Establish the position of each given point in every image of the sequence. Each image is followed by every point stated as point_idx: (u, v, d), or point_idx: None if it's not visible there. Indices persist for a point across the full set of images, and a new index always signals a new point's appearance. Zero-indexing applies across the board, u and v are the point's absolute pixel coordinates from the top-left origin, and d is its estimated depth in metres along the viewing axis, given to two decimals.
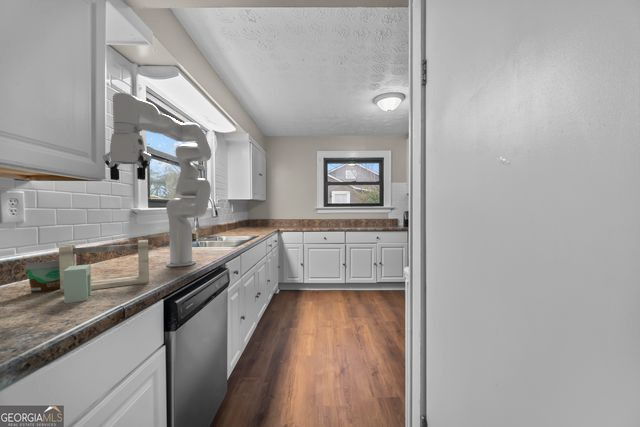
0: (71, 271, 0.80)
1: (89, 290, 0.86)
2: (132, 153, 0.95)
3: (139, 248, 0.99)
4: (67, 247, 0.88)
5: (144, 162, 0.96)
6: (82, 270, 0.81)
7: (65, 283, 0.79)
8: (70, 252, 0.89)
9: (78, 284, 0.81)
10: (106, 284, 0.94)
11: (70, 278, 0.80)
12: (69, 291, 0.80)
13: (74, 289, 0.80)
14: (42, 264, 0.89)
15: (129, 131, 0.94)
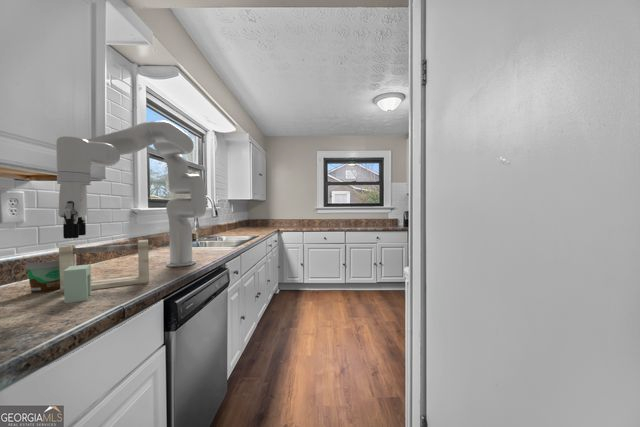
0: (71, 271, 0.80)
1: (89, 290, 0.86)
2: (86, 207, 0.86)
3: (139, 248, 0.99)
4: (67, 247, 0.88)
5: (83, 216, 0.88)
6: (82, 270, 0.81)
7: (65, 283, 0.79)
8: (70, 252, 0.89)
9: (78, 284, 0.81)
10: (106, 284, 0.94)
11: (70, 278, 0.80)
12: (69, 291, 0.80)
13: (74, 289, 0.80)
14: (42, 264, 0.89)
15: None
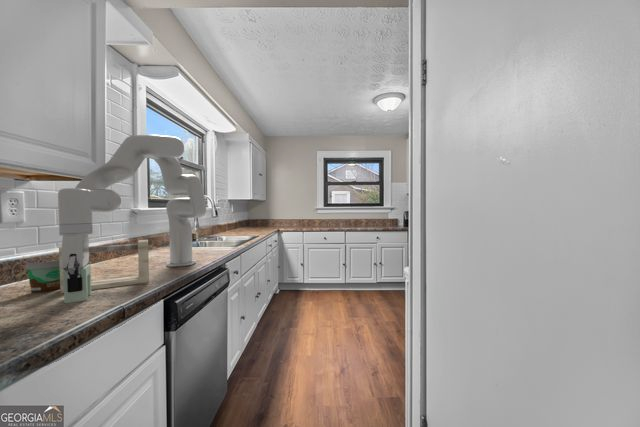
0: None
1: (89, 290, 0.86)
2: (88, 254, 0.87)
3: (139, 248, 0.99)
4: None
5: None
6: (82, 270, 0.81)
7: (65, 283, 0.79)
8: None
9: None
10: (106, 284, 0.94)
11: None
12: None
13: None
14: (42, 264, 0.89)
15: None
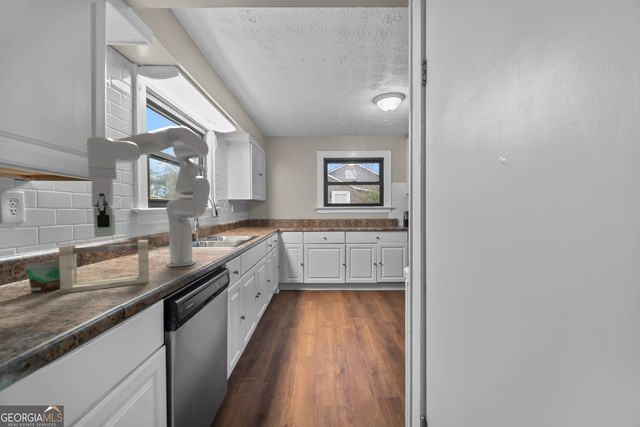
0: None
1: (114, 229, 0.98)
2: None
3: (139, 248, 0.99)
4: (67, 247, 0.88)
5: None
6: (109, 209, 0.93)
7: (95, 219, 0.91)
8: (70, 252, 0.89)
9: None
10: (106, 284, 0.94)
11: None
12: None
13: None
14: (42, 264, 0.89)
15: None
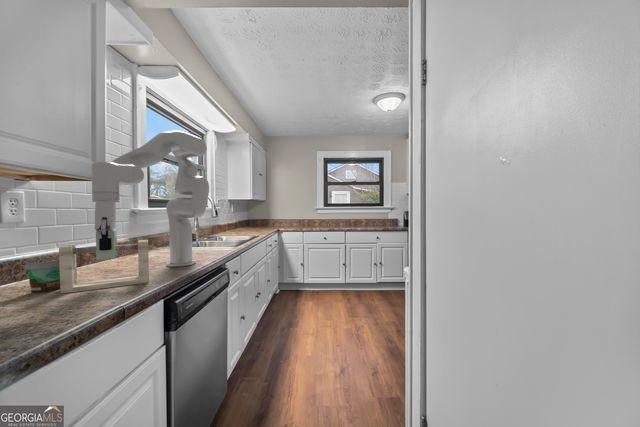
0: None
1: (115, 251, 0.99)
2: (115, 221, 1.00)
3: (139, 248, 0.99)
4: (67, 247, 0.88)
5: None
6: (111, 232, 0.94)
7: (97, 242, 0.92)
8: (70, 252, 0.89)
9: None
10: (106, 284, 0.94)
11: None
12: None
13: None
14: (42, 264, 0.89)
15: None
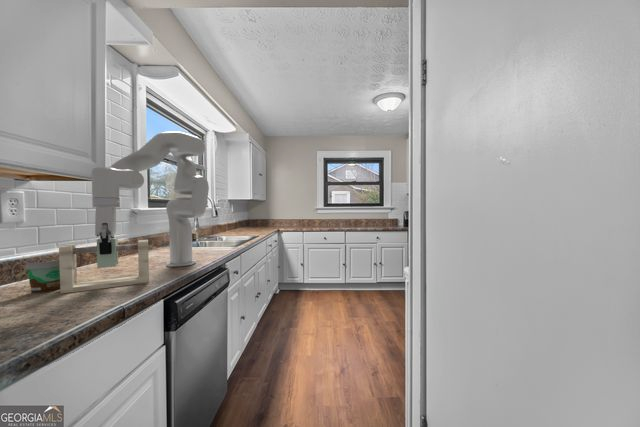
0: None
1: (116, 260, 0.99)
2: None
3: (139, 248, 0.99)
4: (67, 247, 0.88)
5: None
6: (112, 240, 0.94)
7: (98, 250, 0.92)
8: (70, 252, 0.89)
9: None
10: (106, 284, 0.94)
11: None
12: (101, 258, 0.93)
13: (105, 256, 0.93)
14: (42, 264, 0.89)
15: None
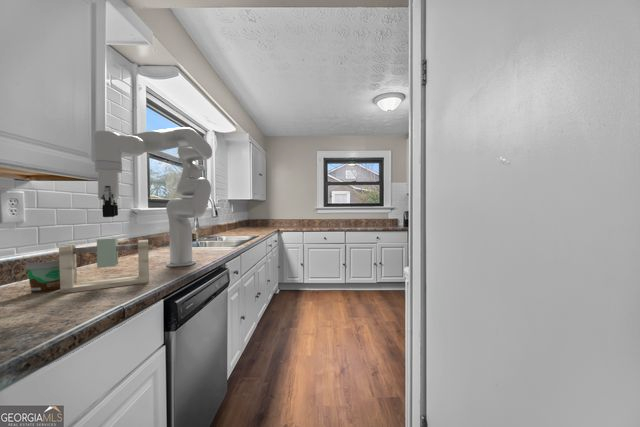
0: (103, 240, 0.93)
1: (116, 260, 0.99)
2: (118, 191, 1.01)
3: (139, 248, 0.99)
4: (67, 247, 0.88)
5: (115, 199, 1.03)
6: (112, 240, 0.94)
7: (98, 250, 0.92)
8: (70, 252, 0.89)
9: (108, 251, 0.94)
10: (106, 284, 0.94)
11: (102, 246, 0.93)
12: (101, 257, 0.93)
13: (105, 256, 0.93)
14: (42, 264, 0.89)
15: None
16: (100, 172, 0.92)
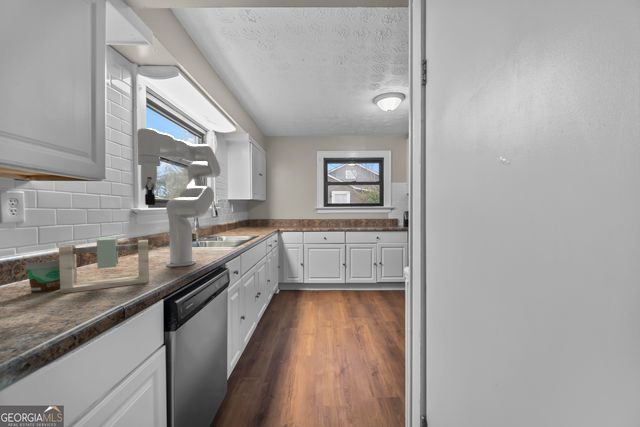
0: (103, 241, 0.93)
1: (116, 259, 0.99)
2: None
3: (139, 248, 0.99)
4: (67, 247, 0.88)
5: None
6: (112, 240, 0.94)
7: (98, 251, 0.92)
8: (70, 252, 0.89)
9: (108, 252, 0.94)
10: (106, 284, 0.94)
11: (102, 247, 0.93)
12: (101, 258, 0.93)
13: (105, 257, 0.93)
14: (42, 264, 0.89)
15: None
16: (143, 165, 1.03)
